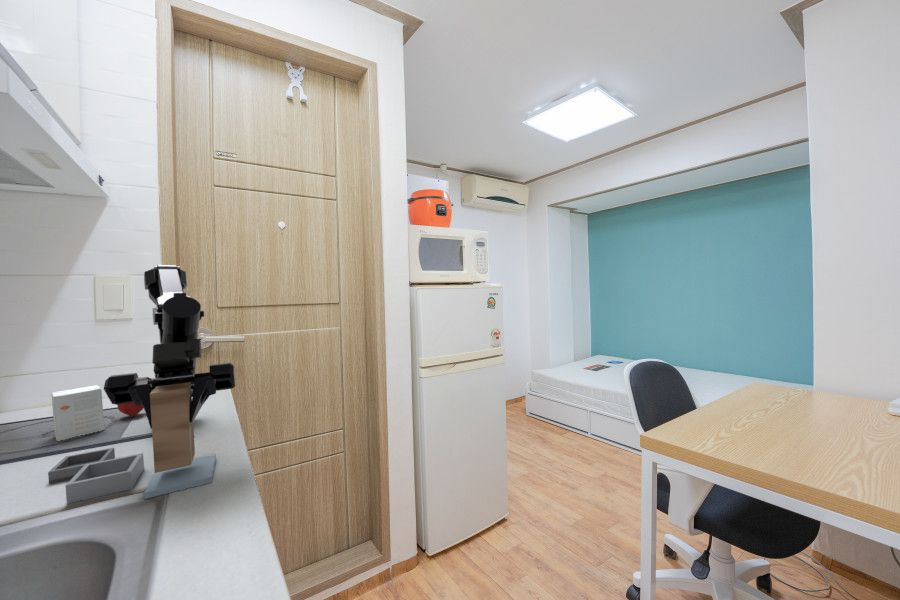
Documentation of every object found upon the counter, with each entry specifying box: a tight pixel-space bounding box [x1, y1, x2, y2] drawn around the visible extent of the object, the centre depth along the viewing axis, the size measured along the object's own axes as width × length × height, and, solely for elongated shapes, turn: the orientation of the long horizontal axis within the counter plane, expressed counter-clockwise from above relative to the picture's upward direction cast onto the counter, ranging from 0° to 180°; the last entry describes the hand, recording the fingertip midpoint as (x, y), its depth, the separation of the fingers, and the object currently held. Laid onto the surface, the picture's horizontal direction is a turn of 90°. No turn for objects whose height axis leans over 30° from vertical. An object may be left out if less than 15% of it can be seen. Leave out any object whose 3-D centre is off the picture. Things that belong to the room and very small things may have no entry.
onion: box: [116, 402, 144, 417], centre depth 96 cm, size 6×6×8 cm
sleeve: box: [65, 452, 145, 505], centre depth 62 cm, size 8×8×3 cm
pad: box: [143, 453, 217, 500], centre depth 64 cm, size 10×9×1 cm
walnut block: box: [150, 382, 196, 473], centre depth 63 cm, size 5×5×14 cm
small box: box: [51, 384, 106, 442], centre depth 85 cm, size 8×6×10 cm
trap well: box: [47, 446, 116, 484], centre depth 67 cm, size 7×7×2 cm
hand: (172, 424), depth 62 cm, fingers closed on walnut block, 5 cm apart
